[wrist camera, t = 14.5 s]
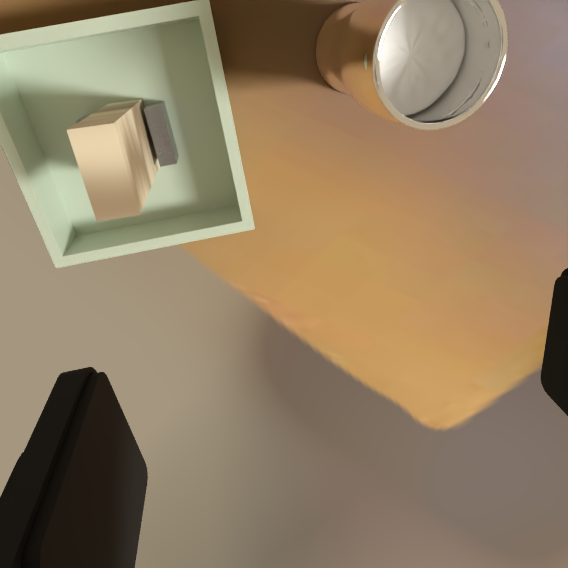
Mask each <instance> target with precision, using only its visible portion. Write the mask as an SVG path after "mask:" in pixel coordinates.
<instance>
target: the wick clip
mask: <svg viewBox="0 0 568 568" xmlns="http://www.w3.org/2000/svg"><path fill="white" fill-rule="evenodd" d="M144 112H145V116H146V119H147V123H148V126H149V130H150V133H151V137H152V140H153V144H154V147H155V151H156V154H157V157H158V161H159V164H160V167H162V166H167V165H172V164H177V161H178V157H179V154H178V150H177V147H176V143H175V139H174V135H173V132H172V128H171V124H170V120H169V116H168V113H167V109H166V105H165V101H162V102H157V103H151V104H148V105H147V106H146V107H145V108H144ZM88 116H89V115H86V116H83V117H82V118H80V119H79V120H77V121H76V123H78V122H80V121H81V120H83V119H84V118H86V117H88Z"/></svg>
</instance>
